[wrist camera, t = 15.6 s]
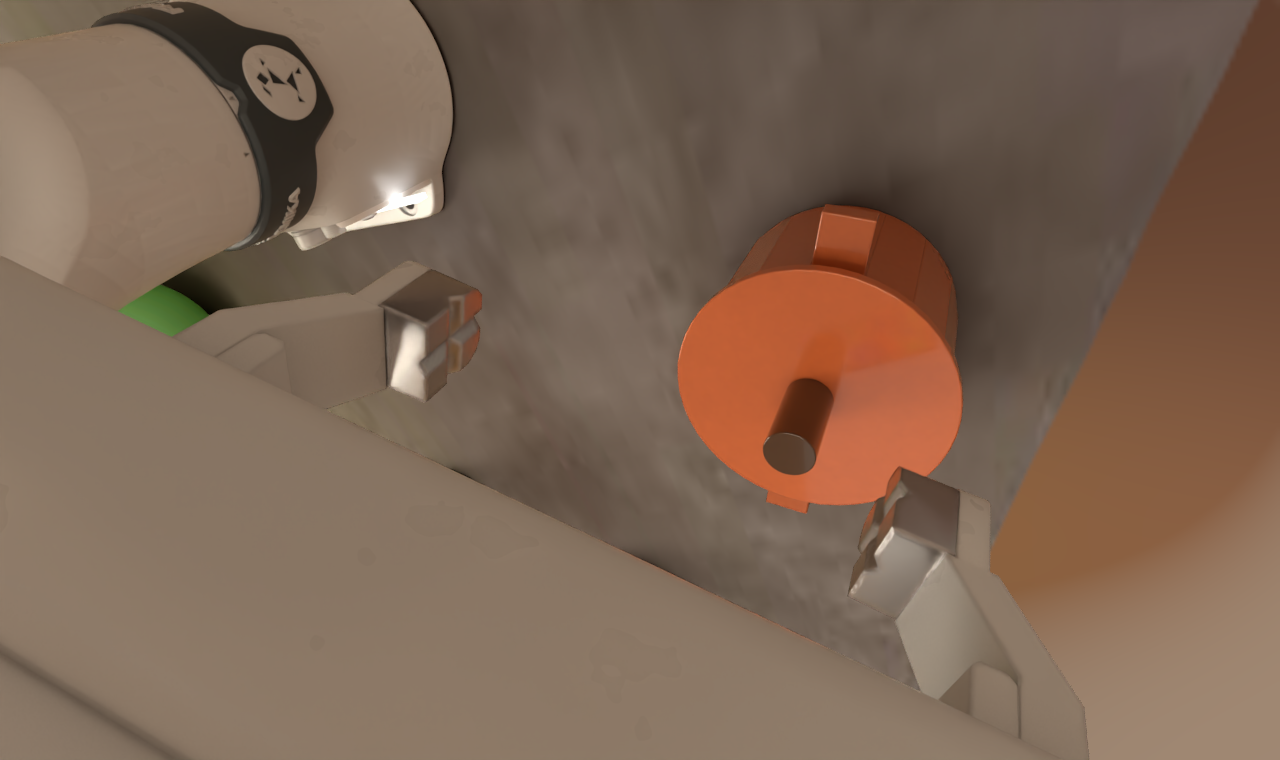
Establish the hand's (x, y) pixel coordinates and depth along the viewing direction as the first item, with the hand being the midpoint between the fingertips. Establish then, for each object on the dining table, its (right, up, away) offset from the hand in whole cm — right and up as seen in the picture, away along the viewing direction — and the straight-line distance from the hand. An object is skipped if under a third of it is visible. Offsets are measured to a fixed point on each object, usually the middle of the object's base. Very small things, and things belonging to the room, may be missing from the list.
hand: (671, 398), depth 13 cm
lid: (+8, 0, +23) cm, 24 cm away
